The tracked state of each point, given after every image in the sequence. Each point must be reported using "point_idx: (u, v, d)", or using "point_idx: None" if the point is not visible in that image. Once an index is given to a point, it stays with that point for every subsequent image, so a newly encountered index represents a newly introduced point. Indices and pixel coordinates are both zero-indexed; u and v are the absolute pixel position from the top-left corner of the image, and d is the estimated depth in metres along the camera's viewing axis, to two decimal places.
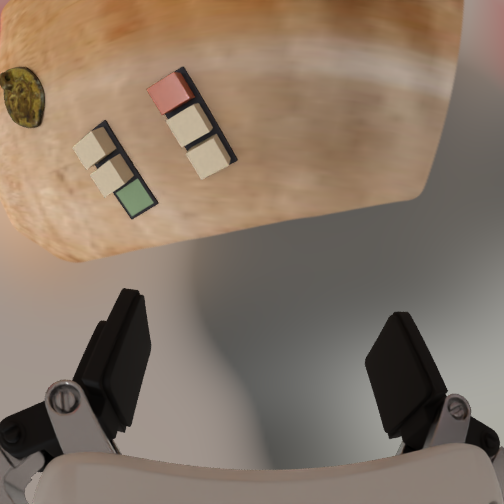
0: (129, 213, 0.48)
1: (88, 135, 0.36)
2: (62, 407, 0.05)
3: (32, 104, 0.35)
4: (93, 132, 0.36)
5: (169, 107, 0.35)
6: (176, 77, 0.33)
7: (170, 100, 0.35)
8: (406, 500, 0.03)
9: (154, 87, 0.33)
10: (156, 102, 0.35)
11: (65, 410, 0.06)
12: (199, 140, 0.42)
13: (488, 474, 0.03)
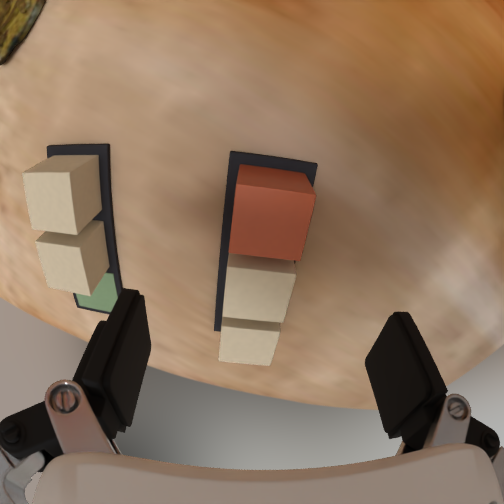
0: (77, 300, 0.26)
1: (60, 176, 0.15)
2: (62, 407, 0.05)
3: (11, 19, 0.11)
4: (72, 176, 0.16)
5: (252, 250, 0.18)
6: (310, 209, 0.17)
7: (264, 241, 0.18)
8: (406, 500, 0.03)
9: (254, 194, 0.16)
10: (236, 224, 0.17)
11: (65, 410, 0.06)
12: None
13: (488, 474, 0.03)
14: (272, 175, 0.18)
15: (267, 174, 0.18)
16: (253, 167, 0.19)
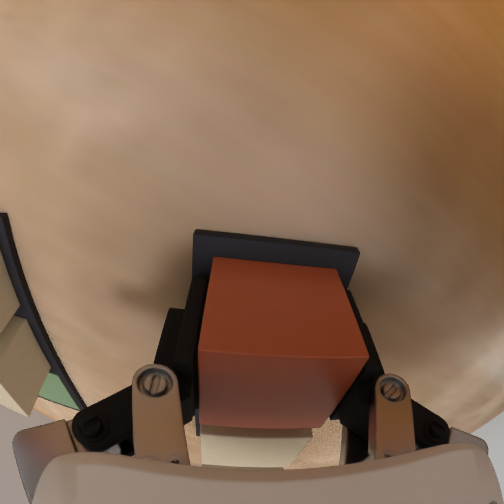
0: None
1: None
2: (149, 389, 0.07)
3: None
4: None
5: (239, 423, 0.09)
6: (353, 375, 0.08)
7: (261, 416, 0.09)
8: (406, 500, 0.03)
9: (238, 365, 0.07)
10: (207, 400, 0.08)
11: (151, 392, 0.07)
12: None
13: (488, 474, 0.03)
14: (277, 293, 0.09)
15: (267, 291, 0.09)
16: (239, 266, 0.10)
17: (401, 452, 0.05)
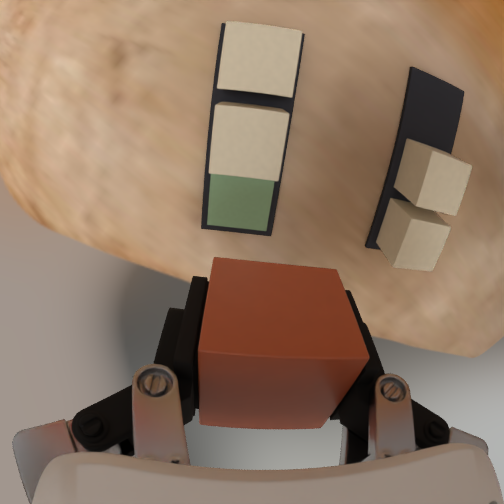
0: (206, 217, 0.24)
1: (288, 32, 0.13)
2: (149, 389, 0.07)
3: None
4: None
5: (239, 424, 0.09)
6: (353, 376, 0.08)
7: (261, 416, 0.09)
8: (406, 500, 0.03)
9: (239, 365, 0.07)
10: (207, 401, 0.08)
11: (151, 393, 0.07)
12: (406, 197, 0.23)
13: (488, 474, 0.03)
14: (277, 294, 0.09)
15: (267, 292, 0.09)
16: (239, 267, 0.10)
17: (401, 452, 0.05)
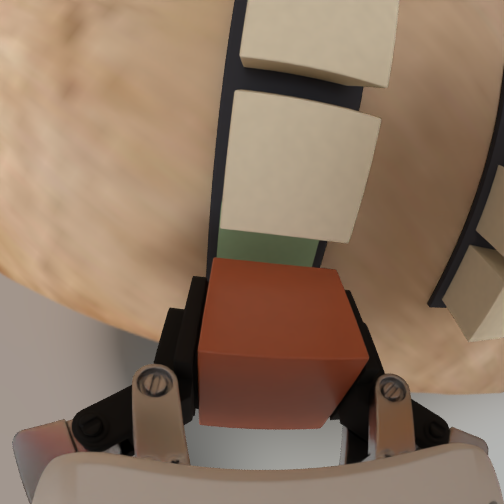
0: None
1: None
2: (149, 389, 0.07)
3: None
4: None
5: (239, 424, 0.09)
6: (353, 376, 0.08)
7: (261, 416, 0.09)
8: (406, 500, 0.03)
9: (238, 366, 0.07)
10: (207, 401, 0.08)
11: (151, 392, 0.07)
12: (486, 243, 0.15)
13: (488, 474, 0.03)
14: (277, 294, 0.09)
15: (267, 292, 0.09)
16: (239, 267, 0.10)
17: (401, 452, 0.05)
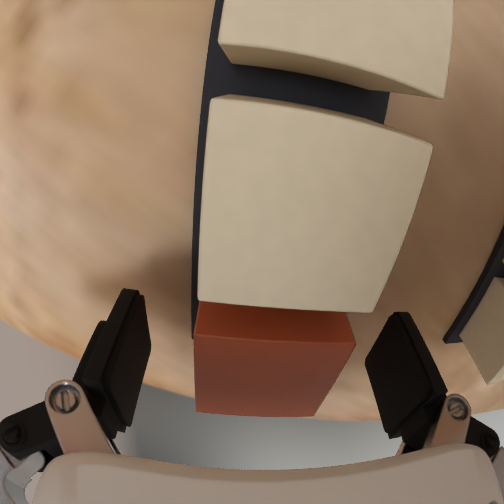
0: None
1: None
2: (62, 407, 0.05)
3: None
4: None
5: (234, 411, 0.10)
6: (342, 362, 0.08)
7: (255, 403, 0.09)
8: (406, 500, 0.03)
9: (232, 350, 0.08)
10: (203, 386, 0.09)
11: (65, 410, 0.06)
12: None
13: (488, 474, 0.03)
14: None
15: None
16: None
17: None
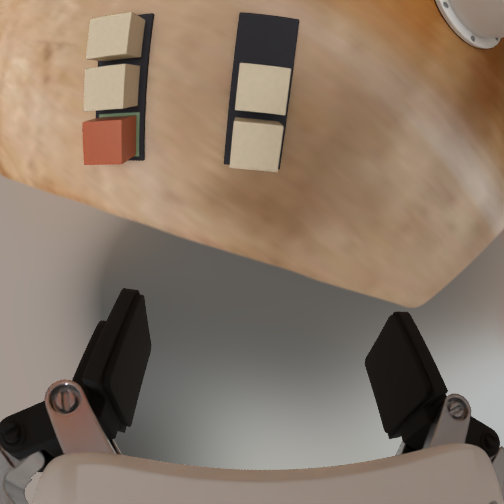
0: None
1: (123, 15, 0.18)
2: (62, 407, 0.05)
3: None
4: (132, 15, 0.19)
5: (95, 160, 0.26)
6: (120, 128, 0.24)
7: (100, 153, 0.25)
8: (406, 500, 0.03)
9: (90, 126, 0.24)
10: (85, 146, 0.25)
11: (65, 410, 0.06)
12: (252, 115, 0.28)
13: (488, 474, 0.03)
14: (110, 117, 0.26)
15: (108, 117, 0.26)
16: (105, 117, 0.27)
17: None
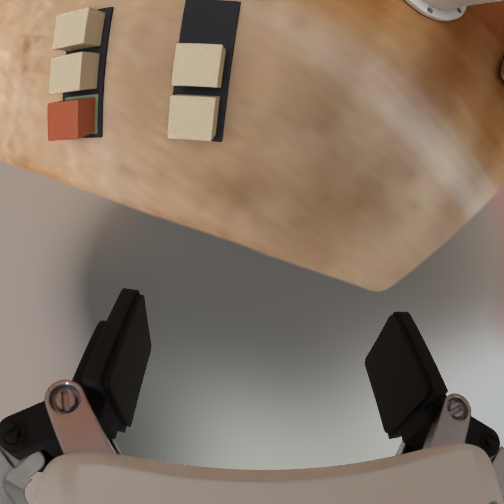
0: None
1: (82, 10, 0.18)
2: (62, 407, 0.05)
3: None
4: (90, 10, 0.19)
5: (56, 136, 0.26)
6: (77, 107, 0.24)
7: (61, 130, 0.26)
8: (406, 500, 0.03)
9: (54, 106, 0.24)
10: (49, 124, 0.25)
11: (65, 410, 0.06)
12: (195, 92, 0.28)
13: (488, 474, 0.03)
14: (72, 99, 0.26)
15: None
16: None
17: None
